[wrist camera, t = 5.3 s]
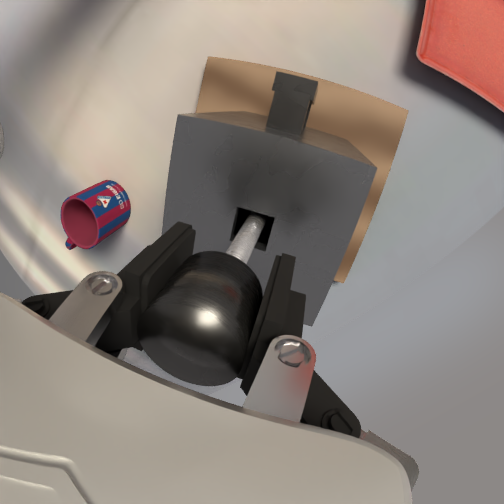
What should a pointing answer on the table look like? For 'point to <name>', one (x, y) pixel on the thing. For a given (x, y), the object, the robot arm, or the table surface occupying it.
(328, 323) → the table surface
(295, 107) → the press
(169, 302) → the plunger
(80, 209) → the mug
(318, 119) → the board
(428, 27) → the plant saucer
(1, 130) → the grey and black pitcher
